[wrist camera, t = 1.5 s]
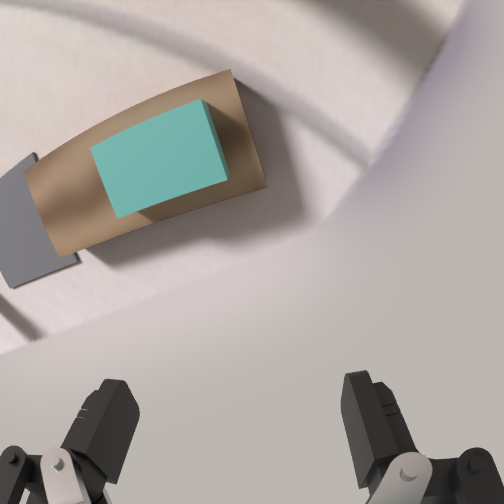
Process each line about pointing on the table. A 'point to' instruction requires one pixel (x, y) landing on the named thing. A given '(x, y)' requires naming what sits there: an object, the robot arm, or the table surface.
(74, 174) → the brown flat block
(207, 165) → the teal rectangular block
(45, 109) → the table surface
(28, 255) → the mat
